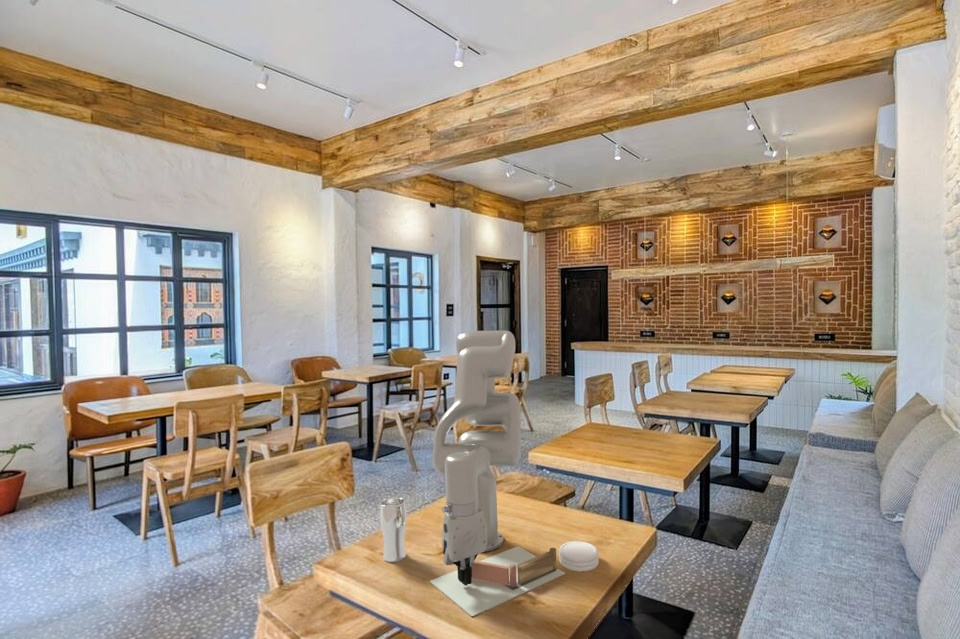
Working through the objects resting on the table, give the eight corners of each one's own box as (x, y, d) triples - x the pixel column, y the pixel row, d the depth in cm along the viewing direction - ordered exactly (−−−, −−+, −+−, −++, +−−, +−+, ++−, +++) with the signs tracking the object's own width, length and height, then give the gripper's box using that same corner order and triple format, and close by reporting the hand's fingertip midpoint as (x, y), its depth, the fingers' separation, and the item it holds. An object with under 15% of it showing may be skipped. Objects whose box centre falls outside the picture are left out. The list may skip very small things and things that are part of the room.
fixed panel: (517, 583, 124) (516, 562, 124) (553, 566, 131) (553, 547, 131) (521, 586, 123) (520, 565, 123) (558, 569, 130) (557, 549, 130)
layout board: (429, 582, 127) (429, 580, 127) (518, 547, 143) (518, 545, 143) (472, 617, 112) (472, 615, 112) (564, 573, 128) (564, 572, 128)
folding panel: (517, 584, 123) (517, 565, 123) (515, 587, 122) (514, 568, 121) (461, 573, 129) (461, 555, 129) (458, 576, 127) (458, 558, 127)
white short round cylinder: (552, 558, 137) (551, 544, 137) (584, 550, 141) (584, 537, 140) (572, 576, 128) (572, 562, 127) (606, 567, 131) (606, 553, 131)
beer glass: (412, 553, 142) (410, 499, 141) (398, 565, 135) (396, 508, 135) (391, 548, 144) (389, 495, 144) (376, 560, 138) (374, 505, 138)
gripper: (443, 520, 115) (446, 601, 116) (497, 503, 124) (499, 578, 124) (426, 509, 121) (429, 586, 122) (479, 493, 130) (481, 565, 131)
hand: (465, 582), depth 123 cm, fingers closed
